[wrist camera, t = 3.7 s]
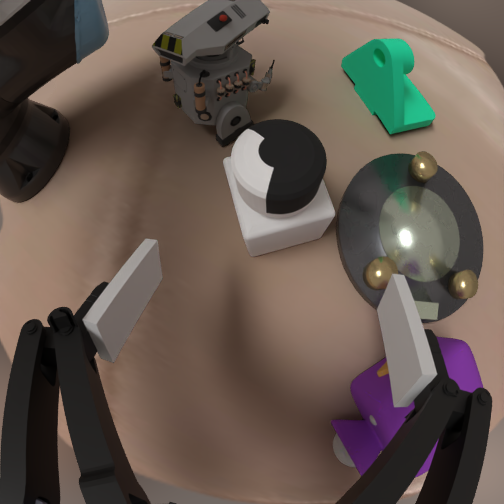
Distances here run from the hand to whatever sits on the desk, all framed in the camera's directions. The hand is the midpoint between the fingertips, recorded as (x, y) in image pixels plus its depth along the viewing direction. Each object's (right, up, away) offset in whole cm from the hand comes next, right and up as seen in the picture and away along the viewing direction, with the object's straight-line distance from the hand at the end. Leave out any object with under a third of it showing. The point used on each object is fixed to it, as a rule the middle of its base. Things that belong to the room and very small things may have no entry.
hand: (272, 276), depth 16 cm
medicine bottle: (+1, +5, +13) cm, 14 cm away
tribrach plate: (+16, +3, +11) cm, 20 cm away
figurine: (-4, +19, +16) cm, 25 cm away
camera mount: (+16, +21, +16) cm, 31 cm away
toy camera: (+12, -14, +9) cm, 20 cm away
